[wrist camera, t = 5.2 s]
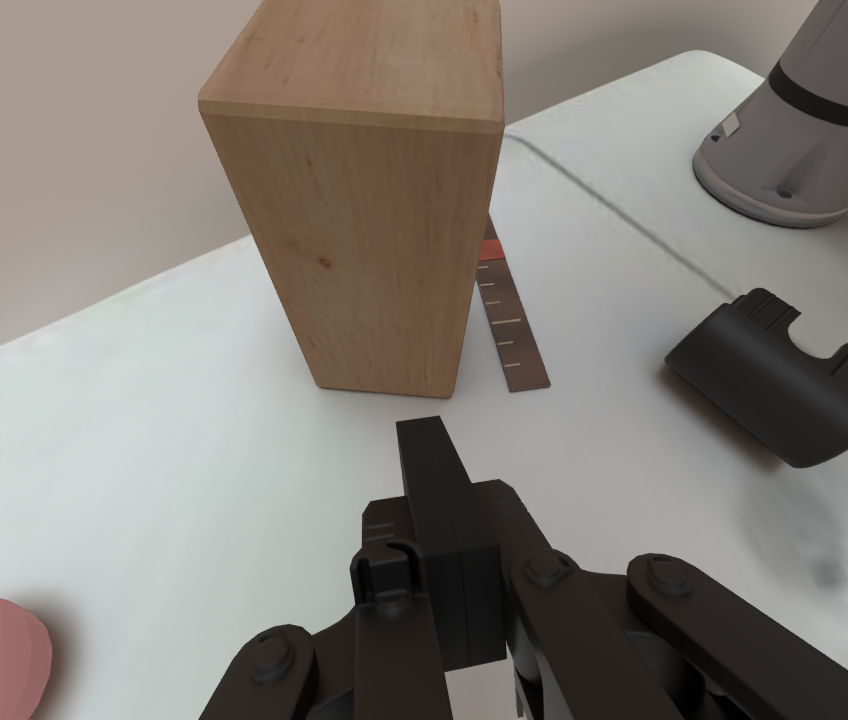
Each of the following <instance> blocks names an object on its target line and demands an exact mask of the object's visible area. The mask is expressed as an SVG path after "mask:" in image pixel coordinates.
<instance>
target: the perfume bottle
mask: <svg viewBox="0 0 848 720" xmlns="http://www.w3.org/2000/svg"><path fill="white" fill-rule="evenodd" d="M52 651H53V648H52V644H51V641H50V637H49V634H48V630H47V627H46V626H45V625H44V624H43V623H42V622H41V621H40V620H39V619H38V618H37V617H36V616H35V615H34V614H32V613H30V612H28V611H27V610H25V609H23V608H21V607H19V606H17V605H16V604H14V603H12V602H10V601H8V600H4V599H1V598H0V720H28V719H29V718H30V716H31V715H32V713H33V712H34V711H35V709H36V708H37V706H38V704H39V702H40V699H41V697H42V694H43V692H44V689H45V687H46V684H47V682H48V679H49V677H50V671H51V661H52Z"/></svg>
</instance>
